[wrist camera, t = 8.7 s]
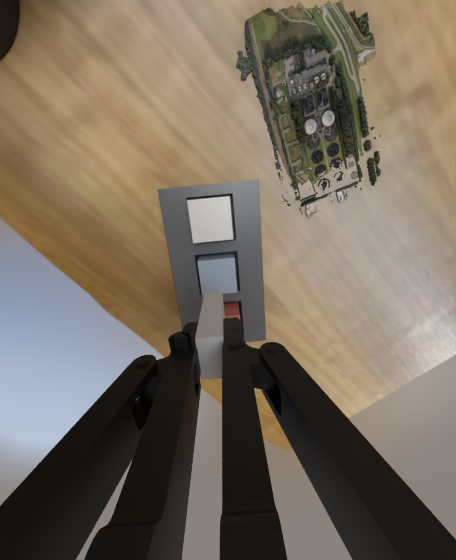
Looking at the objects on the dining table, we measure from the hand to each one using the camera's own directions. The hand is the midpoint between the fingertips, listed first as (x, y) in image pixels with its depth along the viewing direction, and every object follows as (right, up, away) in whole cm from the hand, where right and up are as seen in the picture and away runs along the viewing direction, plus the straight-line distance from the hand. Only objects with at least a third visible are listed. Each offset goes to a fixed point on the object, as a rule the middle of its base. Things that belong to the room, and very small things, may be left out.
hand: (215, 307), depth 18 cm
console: (0, +5, +15) cm, 16 cm away
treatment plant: (+13, +24, +10) cm, 29 cm away
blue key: (0, +4, +13) cm, 13 cm away
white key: (-1, +10, +9) cm, 14 cm away
